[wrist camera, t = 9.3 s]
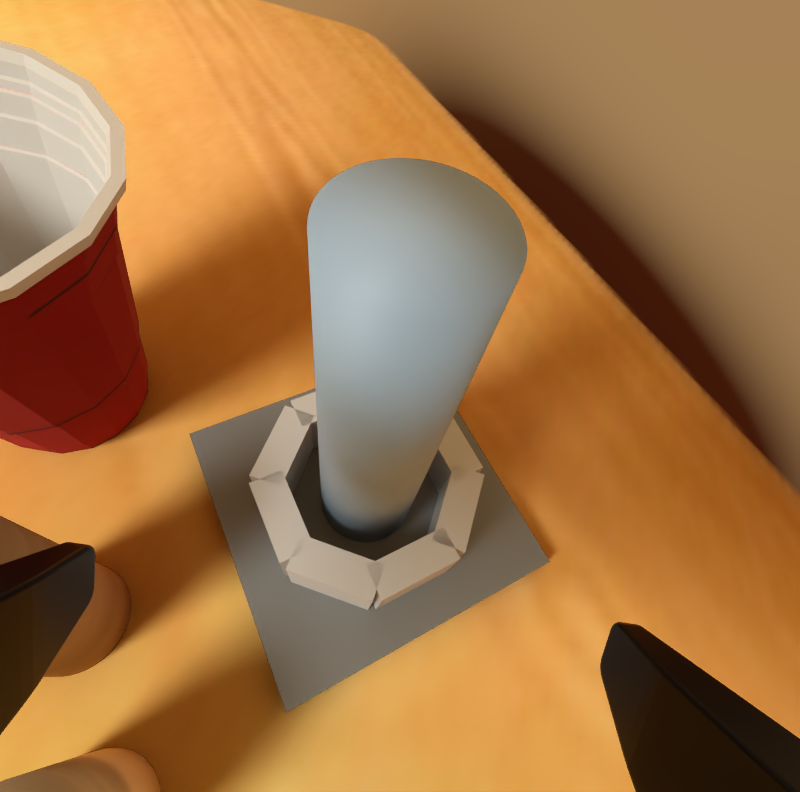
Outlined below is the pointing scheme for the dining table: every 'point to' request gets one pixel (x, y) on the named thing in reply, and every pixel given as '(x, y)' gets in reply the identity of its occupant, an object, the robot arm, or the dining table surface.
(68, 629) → the robot arm
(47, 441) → the plastic cup
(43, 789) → the short dowel
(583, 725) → the dining table surface
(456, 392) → the long dowel
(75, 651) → the medium dowel
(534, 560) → the socket
